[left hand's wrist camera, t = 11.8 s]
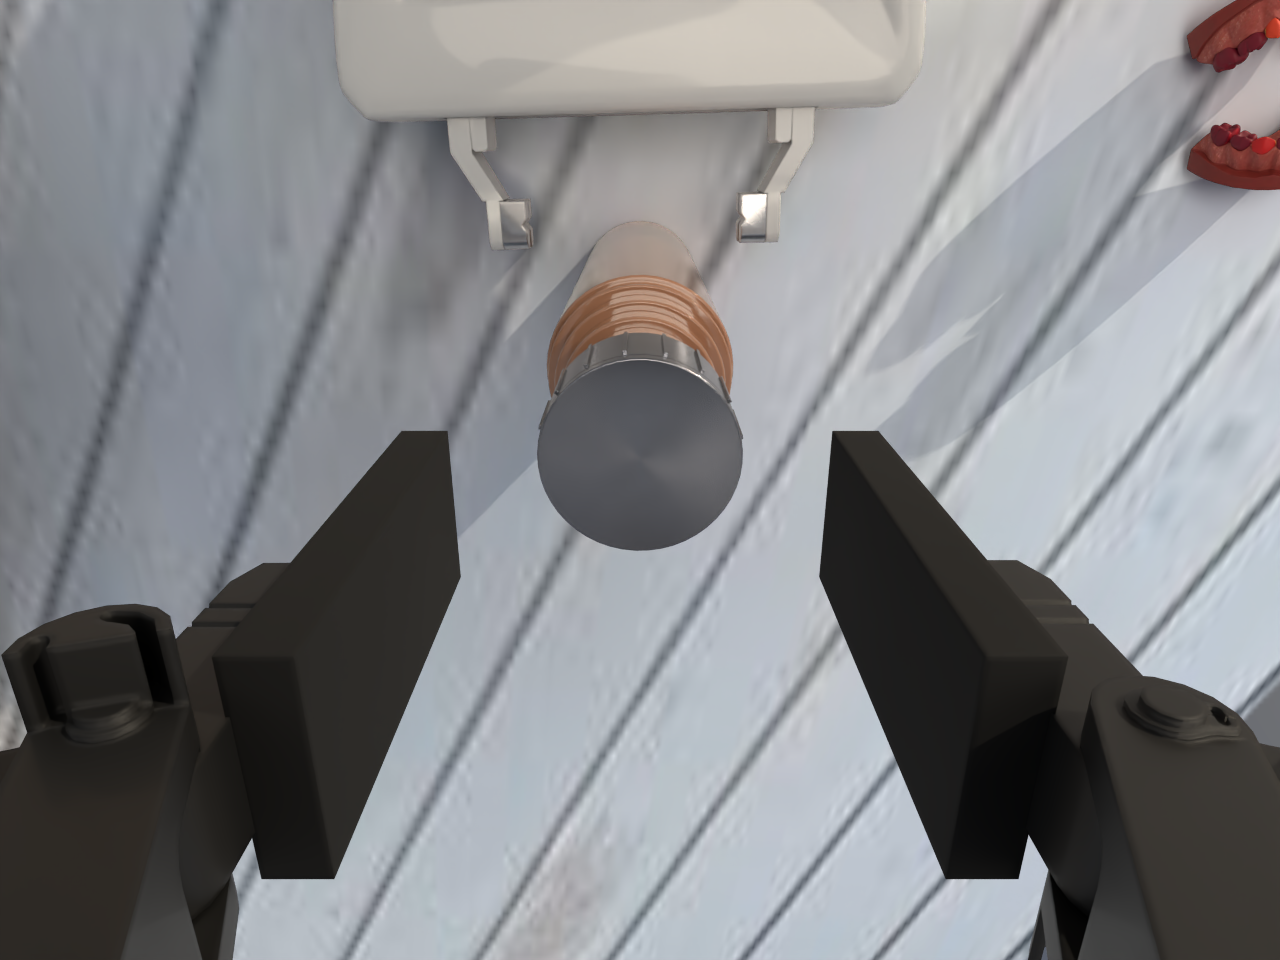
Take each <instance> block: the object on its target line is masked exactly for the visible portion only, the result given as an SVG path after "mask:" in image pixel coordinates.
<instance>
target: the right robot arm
mask: <svg viewBox="0 0 1280 960" xmlns="http://www.w3.org/2000/svg"><path fill="white" fill-rule="evenodd" d="M333 21H334V37H335V50H336V61H337V70H338V78H339V83H340V87H341V90H342V92H343V94H344V95H345V97H346V98H347V99H348V100H349V101H350V103H351V104H352V105H353V106H354V107H355V108H356V109H357V110H358V111H359V112H360V113H361V114H362V115H363V116H364V117H365V118H366V119H369V120H373V121H378V122H415V121H447V126H448V136H449V145H450V153H451V155H452V157H453V158H454V160H455V161H456V163H457V164H458V166H459V167H460V169H461V170H462V172H463V173H464V175H465V176H466V178H467V179H468V181H469V182H470V184H471V185H472V187H473V188H474V190H475V191H476V193H477V194H478V196H479V197H480V199H481V200H482V202H486V210H487V221H488V231H489V242H490V246H491V249H492V250H517V249H530V248H531V247H532V246H533V228H532V227H531V225H530V224H529V223H528V222H529V220H530V218H531V217H532V212H531V200H530V199H508V198H510V197H509V196H508V194H507V192H506V191H505V189H504V188H503V186H502V184H501V183H500V181H499V180H498V178H497V176H496V175H495V173H494V171H493V170H492V168H491V167H490V165H489V163H488V162H487V160H486V158H485V157H484V155H483V154H482V152H494V151H495V150H496V149H497V141H496V128H495V119H513V118H546V117H579V116H612V115H645V114H678V113H711V112H743V111H767V141H768V142H769V143H782V145H781V147H780V149H779V151H778V153H777V155H776V156H775V158H774V160H773V162H772V164H771V166H770V167H769V169H768V171H767V173H766V175H765V177H764V178H763V180H762V182H761V184H760V186H759V187H758V189H757V191H759V192H739V193H736V211H737V212H738V214H739V215H740V217H739V218H738V220H737V221H736V239H737V241H739V243H764V242H778V238H779V231H780V202H781V193H784V192H785V190H786V189H787V187H788V185H789V184H790V182H791V180H792V178H793V177H794V175H795V173H796V172H797V170H798V168H799V166H800V165H801V163H802V161H803V160H804V158H805V156H806V154H807V153H808V151H809V149H810V148H811V146H812V144H813V139H814V120H815V109H842V108H872V107H883V106H887V105H891V104H894V103H896V102H898V101H899V99H900V98H901V97H902V96H903V95H904V94H905V93H906V91H907V90H908V89H909V88H910V86H911V85H912V84H913V82H914V81H915V80H916V78H917V77H918V74H919V72H920V69H921V65H922V60H923V50H924V39H925V22H926V0H333Z"/></svg>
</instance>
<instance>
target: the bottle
mask: <svg viewBox="0 0 1280 960" xmlns="http://www.w3.org/2000/svg"><path fill="white" fill-rule="evenodd" d="M624 332H628V333H653V334H659V335H662V333H663V334H666V336H667V337H670V338H673V339H675V340H678V341H680V342H682V343H684V344H686V345H688V346H689V347H691V348H693V349H694V350H696V349H698V350H699V351H700V354H701V355H702V356H703V357H704V358H705V359H706V360H707V361H708V362H709V363H710V365H711V366H712V367H713V368H714V370H715V371H716V372H717V374H718V376H719V377H720V376H722V377H723V379H724V382H725V385H726V387H727V390H728V393H729V395H730V389H731V383H732V376H733V356H732V349H731V345H730V341H729V337H728V335H727V332H726V330H725V327H724V325H723V323H722V321H721V319H720V317H719V315H718V313H717V310H716V308H715V306H714V304H713V302H712V300H711V298H710V296H709V293H708V291H707V289H706V287H705V285H704V283H703V281H702V279H701V277H700V274H699V272H698V270H697V268H696V266H695V264H694V262H693V260H692V257H691V255H690V253H689V251H688V250H687V248H686V246H685V245H684V243H683V242H682V241H681V240H680V238H679V237H678V236H677V235H675V234H674V233H673V232H672V231H670V230H669V229H667V228H665V227H663V226H661V225H659V224H656V223H652V222H645V221H634V222H628V223H625V224H621V225H619V226H617V227H615V228H613V229H611V230H610V231H608V232H607V233H606V234H605V235H603V236H602V237H601V239H600V240H599V241H598V242H597V243H596V245H595V246H594V248H593V250H592V251H591V253H590V255H589V258H588V260H587V262H586V264H585V266H584V268H583V270H582V272H581V275H580V277H579V279H578V281H577V283H576V285H575V287H574V289H573V291H572V294H571V296H570V298H569V300H568V302H567V304H566V306H565V308H564V311H563V313H562V315H561V317H560V319H559V321H558V323H557V325H556V327H555V330H554V332H553V335H552V338H551V341H550V345H549V350H548V356H547V377H548V382H549V389H550V394H551V398H552V396H553V393H554V390H555V388H556V385H557V383H558V380H559V377H560V374H561V371H562V370H563V368H565V369H566V368H567V367H568V366H569V365H570V363H571V362H572V361H573V360H574V359H575V358H576V357H577V356H578V355H580V354H581V353H582V352H583V351H585V350H586V349H587V348H588V345H590V344H592V345H594V344H596V343H598V342H600V341H602V340H605V339H607V338H610V337H613V336H617V335H620V334H624Z"/></svg>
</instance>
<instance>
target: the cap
mask: <svg viewBox="0 0 1280 960" xmlns="http://www.w3.org/2000/svg"><path fill="white" fill-rule="evenodd" d="M731 402H732V401H731V398H730V396H729V393H728V390H727V387H726V385H725V382H724V379H723V377H722V376H720V377H719V376H718V374H717V372H716V371H715V370H714V368H713V367H712V366H711V365H710V363H709V362H708V361H707V360H706V359H705V358H704V357H703V356H702V355H701V354H700V351H699V350H698V349H696V350H694V349H693V348H691V347H689V346H688V345H686V344H684V343H682V342H680V341H678V340H675V339H673V338H670V337H667V336H666V334H663V333H662V335H659V334H653V333H628V332H624V334H620V335H617V336H613V337H610V338H607V339H605V340H602V341H600V342H598V343H596V344H594V345H592V344H590V345H588V348H587V349H586V350H585V351H583V352H582V353H581V354H580V355H578V356H577V357H576V358H575V359H574V360H573V361H572V362H571V363H570V365H569V366H568V367H567V368H566V369H565V368H563V370H562V371H561V374H560V377H559V380H558V383H557V385H556V388H555V390H554V393H553V396H552V399H551V401H549V400H548V403H547V405H546V408H545V411H544V414H543V416H542V419H541V422H540V425H539V429H540V435H539V440H538V450H537V457H538V468H539V473H540V478H541V481H542V484H543V487H544V489H545V492H546V494H547V496H548V498H549V499H550V501H551V503H552V504H553V506H554V507H555V509H556V510H557V512H558V513H559V514H560V515H561V516H562V517H563V518H564V519H565V520H566V521H567V522H568V523H569V524H570V525H571V526H572V527H574V528H575V529H576V530H577V531H579V532H581V533H582V534H584V535H585V536H587V537H589V538H591V539H593V540H595V541H597V542H599V543H602V544H605V545H607V546H610V547H615V548H619V549H625V550H635V551H638V550H655V549H661V548H665V547H669V546H673V545H676V544H678V543H681V542H683V541H686V540H688V539H689V538H691V537H693V536H695V535H697V534H698V533H700V532H701V531H702V530H704V529H705V528H707V527H708V526H709V525H710V524H711V523H712V522H713V521H714V520H716V518H717V517H718V516H719V515H720V514H721V513H722V511H723V510H724V509H725V507H726V506H727V504H728V503H729V501H730V500H731V498H732V496H733V494H734V492H735V489H736V487H737V484H738V481H739V478H740V474H741V468H742V458H743V448H742V439H743V435H742V432H741V429H740V426H739V424H738V421H737V418H736V415H735V412H734V410H733V409H732V407H731V404H730V403H731Z"/></svg>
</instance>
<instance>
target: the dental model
mask: <svg viewBox="0 0 1280 960" xmlns="http://www.w3.org/2000/svg"><path fill="white" fill-rule="evenodd" d="M1279 37H1280V0H1236V1H1234V2H1233V3H1231V4H1229V5H1228V6H1226V7H1224V8H1223V9H1221V10H1220V11H1218V12H1216V13H1215V14H1213V15H1212V16H1210V17H1209V18H1208V19H1206V20H1205V21H1204V22H1202V23H1201V24H1200V25H1199V26H1197V27H1196V28H1195V29H1194V30H1193V31H1192V32H1191V33H1189V34H1188V35H1187V40H1188V44H1189V48H1190V52H1191V56H1192V59H1197V61H1198V62H1200V63H1205V64H1213V67H1214V69H1215V71H1216V72H1221V71H1224V70H1230V69H1233V68H1235V66H1236V65H1238V64H1241V63H1242V62H1243V61H1245V60H1246V58H1247V57H1248V55H1249V52H1252V51H1253V50H1256V49H1257V50H1260V49H1261V48H1262V47H1263V45H1264V44H1265V43H1266V41H1267V38H1279ZM1187 169H1188V170H1189V171H1190V172H1192V173H1194V174H1196V175H1197V176H1199V177H1201V178H1204V179H1206V180H1209V181H1212V182H1215V183H1218V184H1222V185H1226V186H1230V187H1234V188H1243V189H1251V190H1277V189H1280V130H1278V131H1277V132H1275V133H1274V134H1272V135H1270V136H1268V137H1261V138H1258V139H1257V135H1256V134H1251V133H1249V132H1248V131H1242V132H1241V133H1240V126H1239V125H1237V124H1236V125H1233V126H1231V125H1229V124H1227V123H1223V124H1222V125H1220V126H1219V125H1214V126H1213V127H1212V128H1211V132H1210V133H1209V134H1208V135H1206V136H1205V137H1204V138H1203V139H1202V140H1201V141H1199V142H1198V143H1197V144H1196V145H1195V146H1194V147H1193V148H1192V149H1191V152H1190V157H1189V161H1188V166H1187Z"/></svg>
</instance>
